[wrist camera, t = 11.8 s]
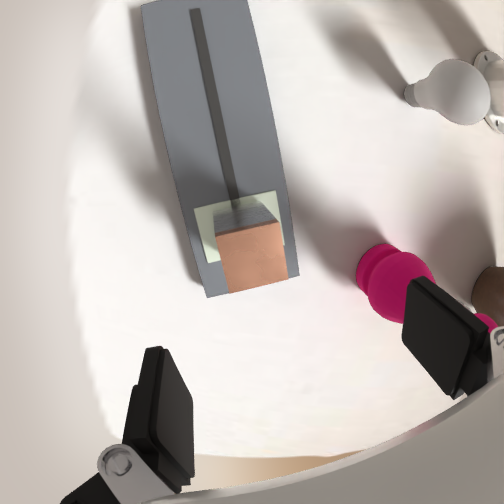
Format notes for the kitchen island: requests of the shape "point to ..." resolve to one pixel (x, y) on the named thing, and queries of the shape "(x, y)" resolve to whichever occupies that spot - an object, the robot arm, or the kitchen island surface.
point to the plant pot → (490, 294)
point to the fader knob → (249, 246)
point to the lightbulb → (452, 92)
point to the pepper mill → (394, 281)
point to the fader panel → (216, 121)
